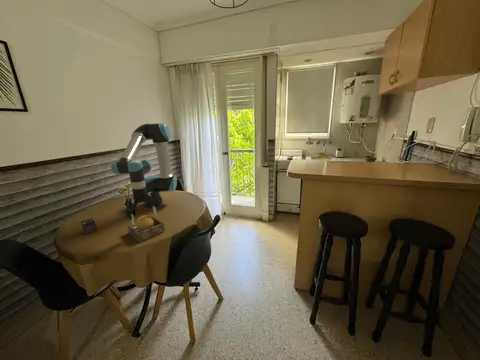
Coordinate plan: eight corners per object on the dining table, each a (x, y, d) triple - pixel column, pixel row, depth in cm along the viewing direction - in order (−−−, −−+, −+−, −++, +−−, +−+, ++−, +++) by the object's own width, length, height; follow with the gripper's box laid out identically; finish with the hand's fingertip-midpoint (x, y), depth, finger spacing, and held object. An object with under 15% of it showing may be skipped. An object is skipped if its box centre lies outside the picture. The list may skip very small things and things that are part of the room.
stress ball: (135, 234, 124) (137, 229, 117) (134, 219, 128) (136, 213, 121) (152, 232, 129) (155, 227, 122) (151, 218, 134) (154, 212, 127)
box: (94, 227, 134) (91, 217, 131) (97, 230, 130) (94, 220, 128) (83, 231, 129) (80, 221, 127) (86, 234, 125) (83, 224, 123)
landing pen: (153, 223, 138) (152, 215, 136) (164, 231, 127) (163, 223, 125) (128, 232, 127) (127, 224, 125) (138, 242, 116) (137, 234, 114)
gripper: (156, 181, 129) (161, 211, 136) (113, 191, 112) (120, 225, 118) (162, 183, 124) (166, 214, 131) (117, 195, 107) (125, 230, 113)
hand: (144, 219), depth 125 cm, fingers open, 13 cm apart
